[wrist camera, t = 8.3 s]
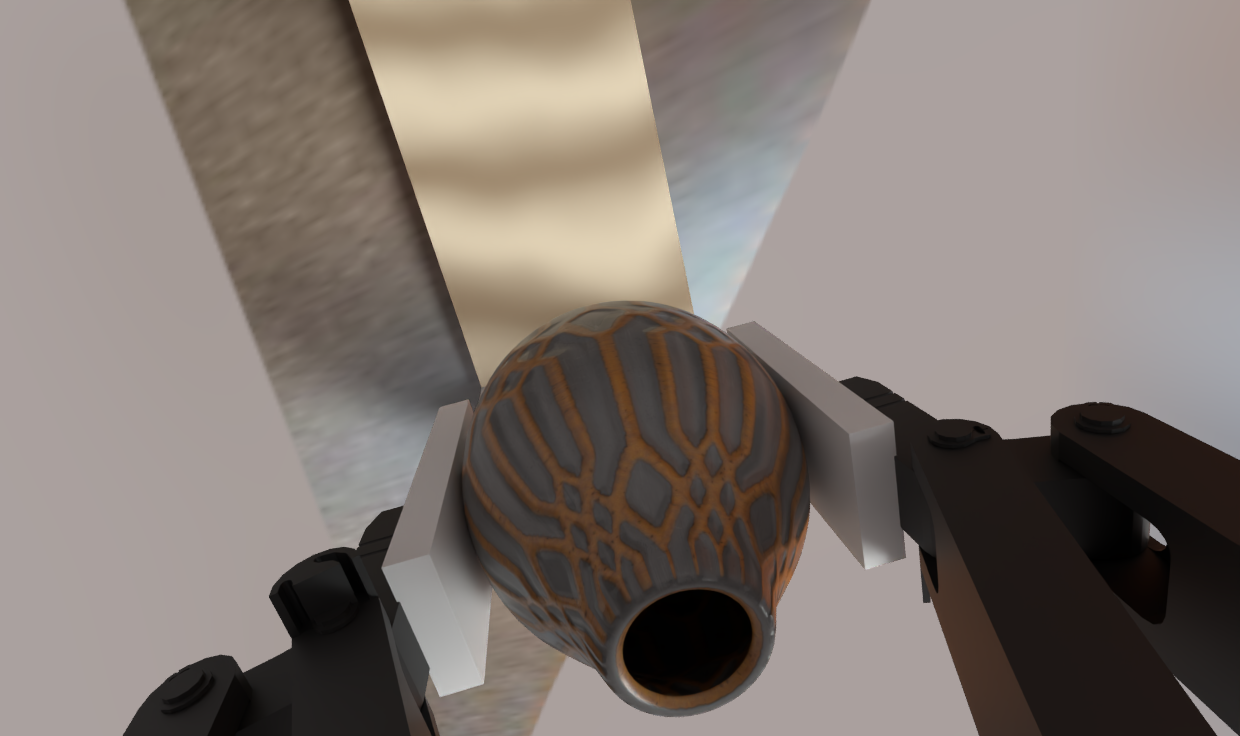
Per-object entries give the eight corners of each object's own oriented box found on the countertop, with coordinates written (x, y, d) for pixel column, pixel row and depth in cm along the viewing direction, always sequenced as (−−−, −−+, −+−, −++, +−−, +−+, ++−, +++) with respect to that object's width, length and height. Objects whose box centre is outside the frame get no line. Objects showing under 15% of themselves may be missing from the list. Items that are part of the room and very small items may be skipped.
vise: (304, -150, 26) (185, -314, 17) (580, -212, 26) (606, -401, 18) (502, 433, 35) (492, 525, 27) (701, 377, 36) (758, 449, 27)
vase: (506, 247, 15) (474, 356, 6) (769, 308, 16) (1017, 463, 8) (456, 498, 17) (383, 828, 8) (695, 533, 18) (833, 847, 10)
